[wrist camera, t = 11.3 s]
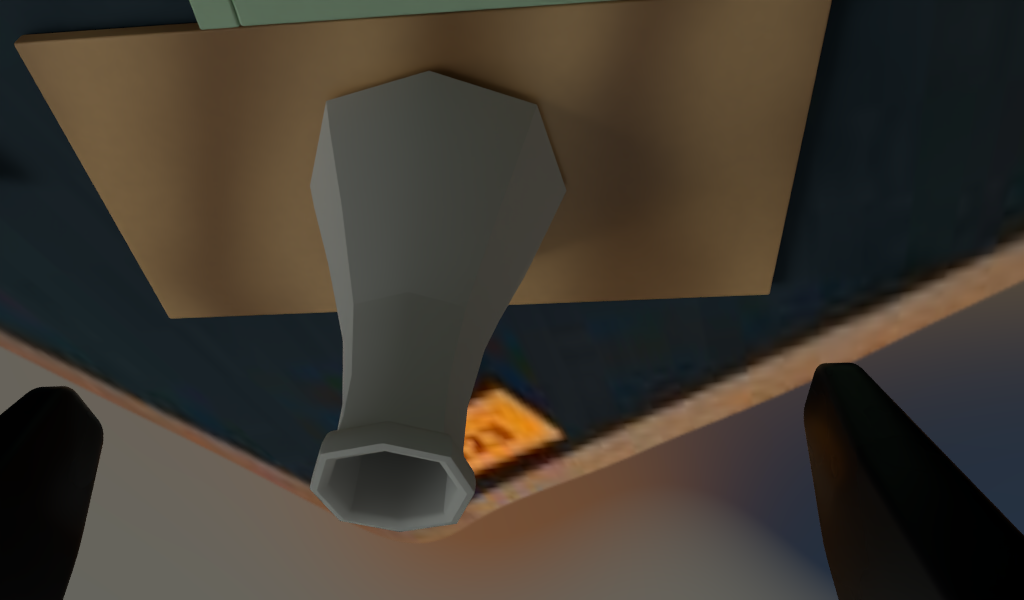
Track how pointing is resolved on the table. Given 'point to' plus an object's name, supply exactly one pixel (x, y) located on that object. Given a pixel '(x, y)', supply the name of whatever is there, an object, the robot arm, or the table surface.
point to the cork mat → (469, 58)
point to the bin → (336, 9)
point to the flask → (421, 280)
